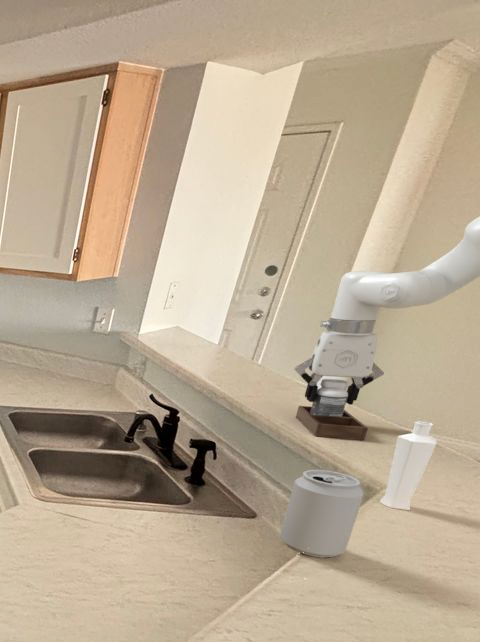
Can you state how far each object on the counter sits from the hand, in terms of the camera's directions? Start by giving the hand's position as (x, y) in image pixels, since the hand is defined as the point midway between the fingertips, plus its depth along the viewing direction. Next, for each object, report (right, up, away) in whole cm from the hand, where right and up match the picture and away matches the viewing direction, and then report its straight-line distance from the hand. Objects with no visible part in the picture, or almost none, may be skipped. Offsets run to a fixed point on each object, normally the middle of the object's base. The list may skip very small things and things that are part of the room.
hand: (329, 401), depth 141 cm
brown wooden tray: (-2, -7, -1) cm, 7 cm away
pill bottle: (0, -5, +2) cm, 5 cm away
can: (-52, -27, -50) cm, 77 cm away
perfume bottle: (-26, -21, -39) cm, 51 cm away
